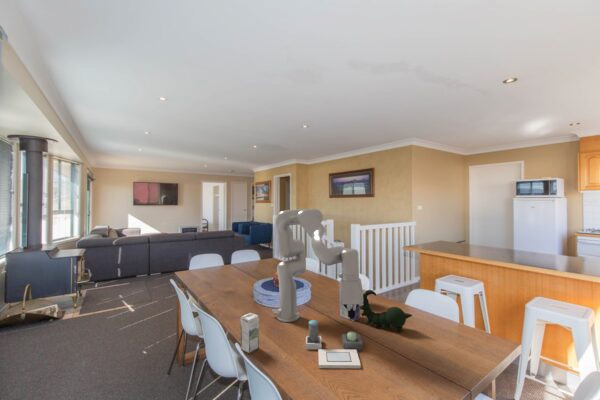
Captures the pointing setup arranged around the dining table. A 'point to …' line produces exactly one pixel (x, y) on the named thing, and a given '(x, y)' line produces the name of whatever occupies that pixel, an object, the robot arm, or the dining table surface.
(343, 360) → the picture board
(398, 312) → the toy figurine
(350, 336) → the button
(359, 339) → the button housing
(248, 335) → the syrup box
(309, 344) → the marker holder
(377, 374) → the dining table surface
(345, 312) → the ink cartridge box
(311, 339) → the marker
